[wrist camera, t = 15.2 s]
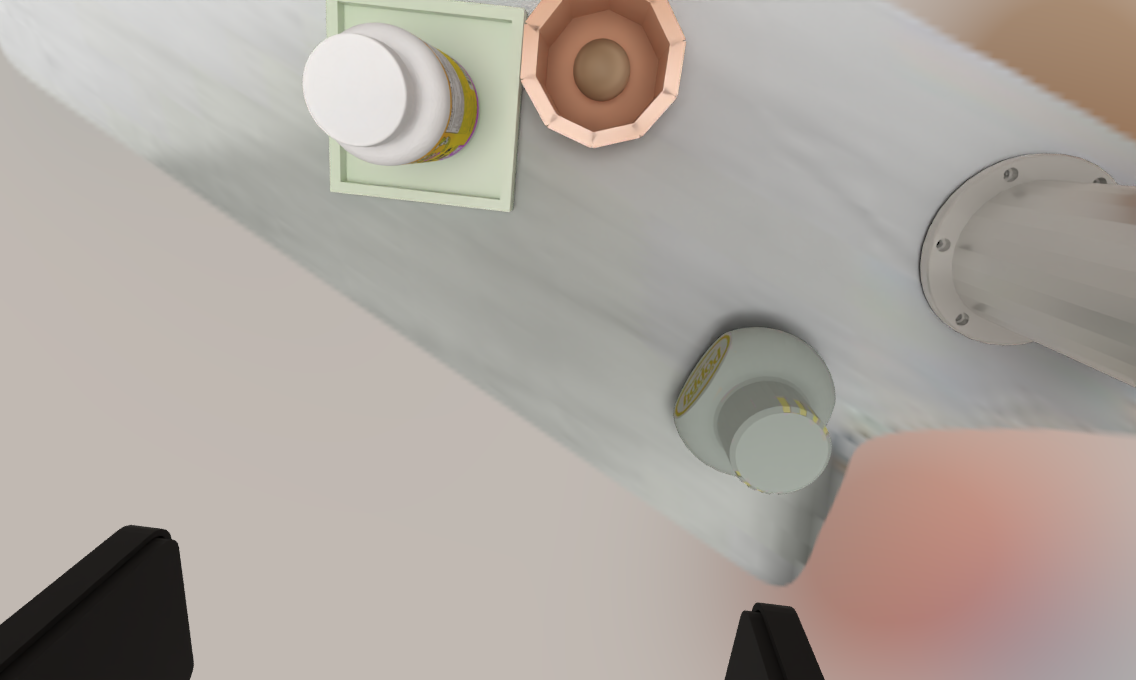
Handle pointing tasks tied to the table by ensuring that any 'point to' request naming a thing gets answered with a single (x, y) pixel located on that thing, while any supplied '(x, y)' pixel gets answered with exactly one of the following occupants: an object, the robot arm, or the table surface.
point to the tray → (493, 62)
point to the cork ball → (601, 69)
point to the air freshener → (759, 409)
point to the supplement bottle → (390, 96)
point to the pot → (653, 45)
